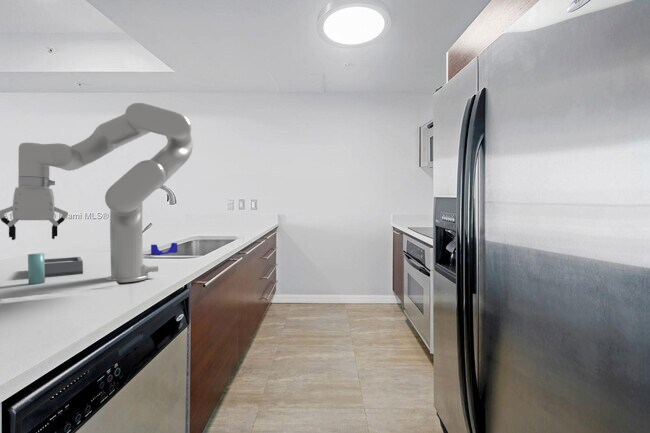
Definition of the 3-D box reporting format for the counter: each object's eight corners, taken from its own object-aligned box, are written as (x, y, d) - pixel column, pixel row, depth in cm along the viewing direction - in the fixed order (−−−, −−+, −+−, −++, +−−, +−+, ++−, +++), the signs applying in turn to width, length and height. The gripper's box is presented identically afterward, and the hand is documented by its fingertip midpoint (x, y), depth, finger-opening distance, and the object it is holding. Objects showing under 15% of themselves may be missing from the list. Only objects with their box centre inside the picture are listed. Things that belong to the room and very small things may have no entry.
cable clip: (155, 257, 178) (155, 245, 178) (151, 257, 181) (150, 244, 180) (179, 255, 187) (178, 243, 187) (174, 254, 190) (174, 242, 190)
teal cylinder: (44, 281, 118) (44, 253, 117) (44, 283, 114) (44, 254, 114) (28, 282, 115) (28, 254, 115) (28, 284, 112) (27, 255, 112)
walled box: (80, 268, 145) (80, 256, 145) (82, 273, 132) (82, 260, 132) (31, 272, 136) (31, 260, 136) (29, 278, 123) (28, 265, 123)
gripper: (67, 185, 122) (67, 237, 123) (-2, 182, 112) (-2, 239, 112) (68, 184, 116) (68, 239, 117) (-5, 181, 106) (-5, 241, 106)
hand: (33, 239), depth 114 cm, fingers open, 9 cm apart
